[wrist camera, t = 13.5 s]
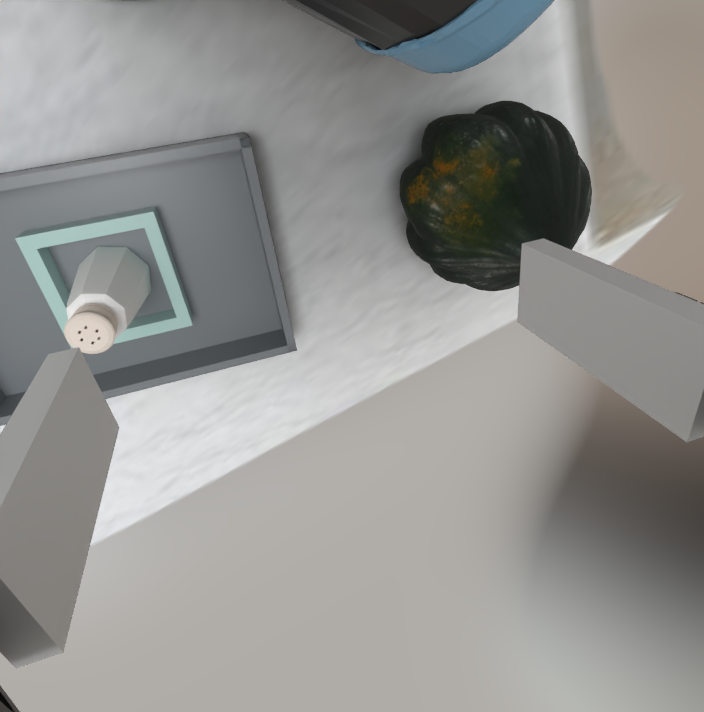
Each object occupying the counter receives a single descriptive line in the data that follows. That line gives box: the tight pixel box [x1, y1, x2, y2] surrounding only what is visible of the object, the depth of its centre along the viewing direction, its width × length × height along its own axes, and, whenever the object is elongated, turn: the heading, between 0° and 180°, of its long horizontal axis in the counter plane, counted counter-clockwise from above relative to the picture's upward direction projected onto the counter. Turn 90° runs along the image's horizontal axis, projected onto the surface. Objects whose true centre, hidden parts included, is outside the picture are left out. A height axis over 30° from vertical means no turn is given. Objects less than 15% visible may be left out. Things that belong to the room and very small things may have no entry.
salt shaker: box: [64, 247, 151, 354], centre depth 33 cm, size 5×5×11 cm
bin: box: [0, 132, 297, 426], centre depth 37 cm, size 17×25×4 cm
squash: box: [400, 101, 592, 291], centre depth 38 cm, size 14×15×15 cm
